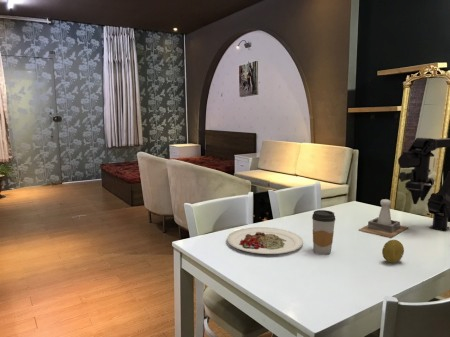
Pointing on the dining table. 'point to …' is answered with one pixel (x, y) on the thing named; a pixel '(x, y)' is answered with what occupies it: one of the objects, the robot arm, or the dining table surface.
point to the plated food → (265, 240)
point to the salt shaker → (385, 212)
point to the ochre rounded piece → (393, 251)
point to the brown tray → (383, 228)
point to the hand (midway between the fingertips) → (418, 202)
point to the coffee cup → (323, 231)
